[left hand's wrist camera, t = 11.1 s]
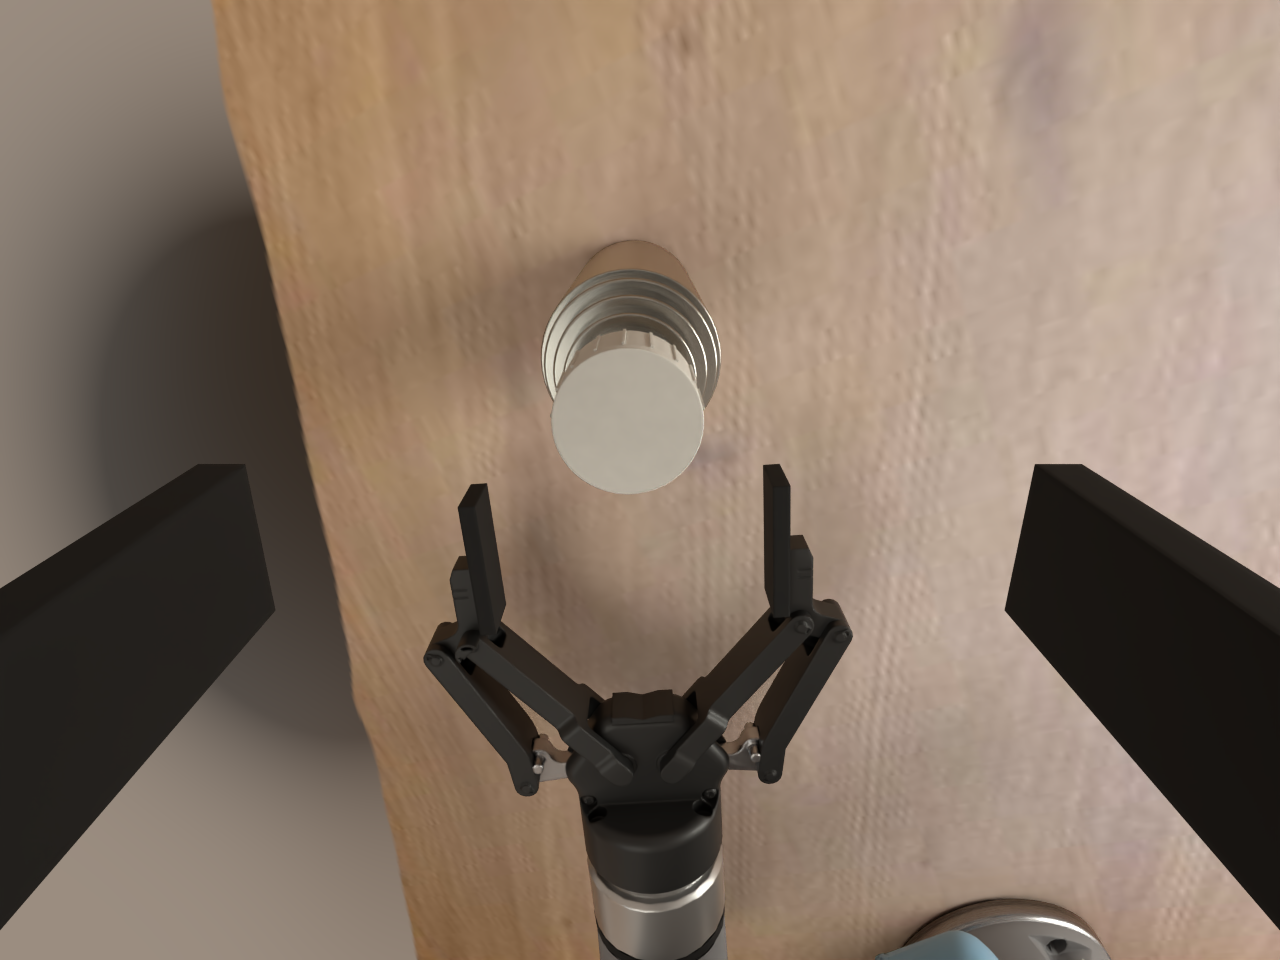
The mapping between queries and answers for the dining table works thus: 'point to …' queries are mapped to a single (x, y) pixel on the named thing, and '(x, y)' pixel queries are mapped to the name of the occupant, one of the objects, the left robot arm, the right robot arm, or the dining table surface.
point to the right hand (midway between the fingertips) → (623, 483)
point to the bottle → (633, 311)
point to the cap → (627, 413)
